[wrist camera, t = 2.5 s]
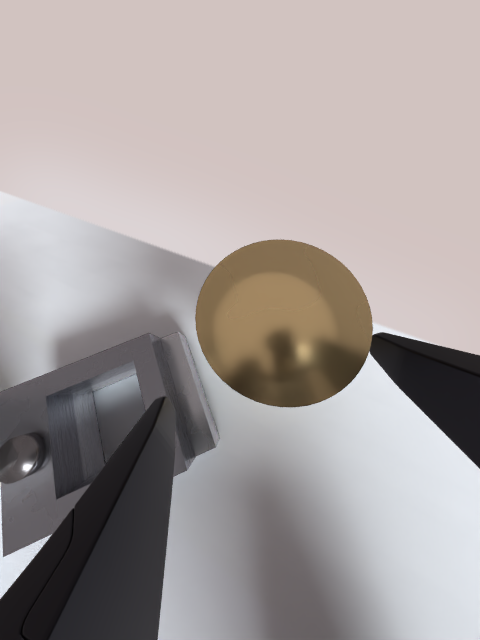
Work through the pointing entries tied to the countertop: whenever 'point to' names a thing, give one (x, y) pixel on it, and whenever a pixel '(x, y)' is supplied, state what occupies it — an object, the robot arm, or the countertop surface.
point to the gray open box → (87, 429)
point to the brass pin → (284, 323)
